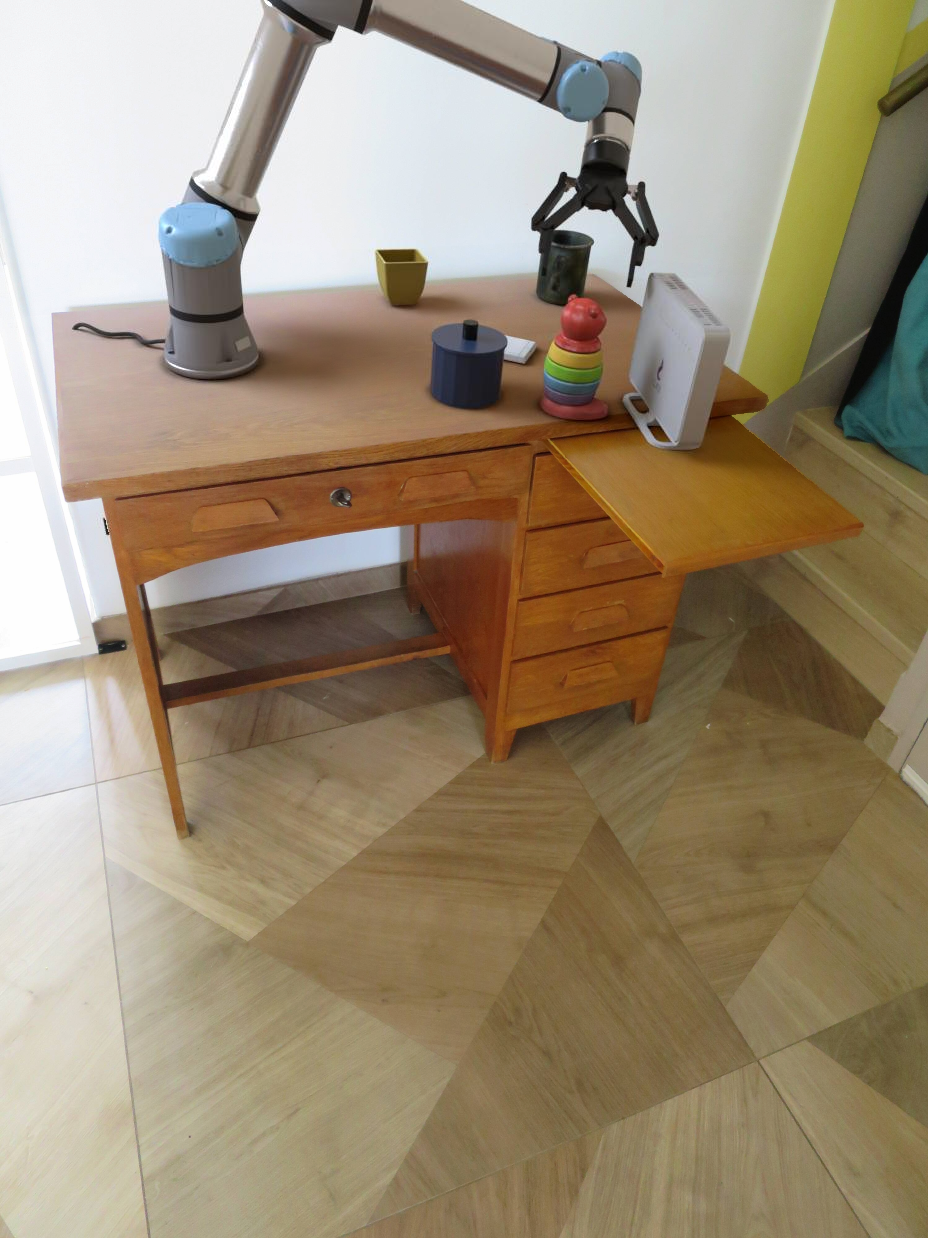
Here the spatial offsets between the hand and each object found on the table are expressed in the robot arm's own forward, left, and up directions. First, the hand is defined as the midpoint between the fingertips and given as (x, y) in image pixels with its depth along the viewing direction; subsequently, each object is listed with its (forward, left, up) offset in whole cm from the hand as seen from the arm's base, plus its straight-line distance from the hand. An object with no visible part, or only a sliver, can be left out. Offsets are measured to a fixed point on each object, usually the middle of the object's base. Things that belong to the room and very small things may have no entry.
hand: (586, 277), depth 139 cm
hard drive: (-14, +12, -19) cm, 26 cm away
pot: (-17, -8, -19) cm, 26 cm away
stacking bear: (0, -8, -19) cm, 20 cm away
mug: (-5, +43, -19) cm, 47 cm away
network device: (+16, -8, -19) cm, 26 cm away
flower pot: (-36, +30, -19) cm, 51 cm away
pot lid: (-17, -8, -10) cm, 21 cm away
